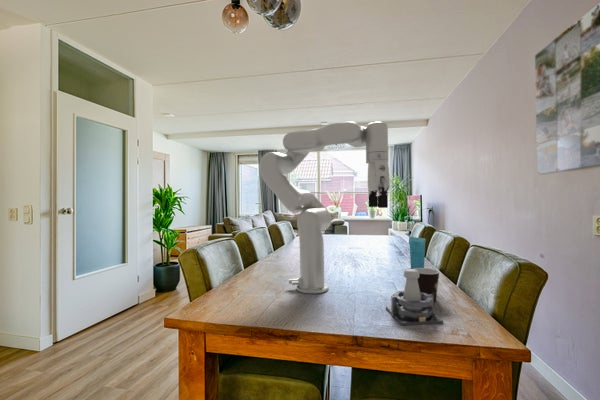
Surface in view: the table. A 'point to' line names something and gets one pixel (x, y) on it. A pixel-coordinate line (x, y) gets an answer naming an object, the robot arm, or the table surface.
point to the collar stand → (417, 316)
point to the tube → (417, 252)
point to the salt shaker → (412, 288)
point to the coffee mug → (428, 281)
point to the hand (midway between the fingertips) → (377, 207)
